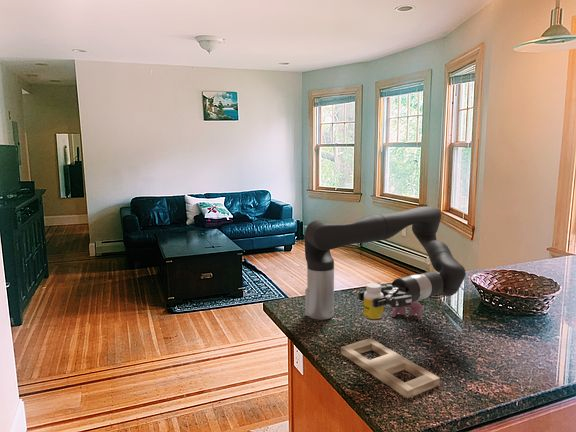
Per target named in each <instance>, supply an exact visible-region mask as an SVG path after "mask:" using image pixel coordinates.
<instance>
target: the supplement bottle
mask: <svg viewBox="0 0 576 432" xmlns="http://www.w3.org/2000/svg"><path fill="white" fill-rule="evenodd" d="M365 286H366V287H365V291H366V290H367V291H366V292H365V293H364V300H363V319H364V320H365V321H366V322H369V323H380V322H382V321H383V320H384V308H385V307H384V306H385V305H383V306H380V307H376V308H375V307H373V299H376V298H380V297H384V295H383V293H382V292H381V286H382V284H381V283H380V284H378V282H369V283H366V285H365Z"/></svg>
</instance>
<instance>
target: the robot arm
mask: <svg viewBox="0 0 576 432" xmlns="http://www.w3.org/2000/svg"><path fill="white" fill-rule="evenodd" d="M441 212H442V211H440V209H438V208H436V207H434V206H429V205H428V206H427V205H425V206H418V207H413V208H410V209H406V210H401V211H397V212H396V211H395V212H390V213H380V214H374V215H367V216H363V217H361V218H359V219H357V220H355V221H353V222H348V223H340V224H339V223H338V224H336V223H335V224H331V223H328V222H325V221H323V220H320V219H319V220H313V221H311V222H309V224H308V225H307V226H306V228H305V230H304V231H305V232H304V255H305V261H306V266H307V267H306V271H307V272H306V273H307V274H306V277H307V278H306V280H307V281H306V283H307V284H306V285H307V286H306V289H305V290H304V291H305V292H304V293H305V295H304V296H305V297H304V300H305V302H304V303H305V308H304V309H305V310H304V311H305V313H304V316H305V317H309V318H311V319H314V320H320V321H321V320H323V321H324V320H329V319H332V318H333V317H334V315H335V314H334V313H335V312H334V311H335V307H334V306H335V305H334V304H335V261H334V258H333V256H332V253H331V250H333V249H335V250H336V249H337V248H341V247H344V246H348V245H354V244H355V245H356V244H363V243H365V244H366V243H371V242H379V241H385V240H389V239H390V238H393V237H394V236H396V235H397V234H399V233H400V232H401V231H403V230H404V229H406V228H407V227H410V226H411V231H412V233H413V235H414V236H415V238H416V239H417V240H418V242H419V243H420V245H421V246H422V247H423V249H424V250H425V251H426V254H427V256H428V258H429V261H430V263H431V266H432V268H433V269H434V270H435V271H436V272H435V271H427V272H423V273H416V274H410V275H407V276H402V277H397V278H395V279H394V280H393V281H392V283H391V284H385V285H381V282H377V283H378V284H380V285H381V291H380V292H382V293H383V295H384V297H380V298H376V299H373V307H375V308H376V307H380V306H383V305H384V306H386V307H389V306H391V308H392V309H393V308H395V307H401V306H407V305H411V302H415V301H418V302H419V301H421V300H424V299H426V298H429V297H430V296H434V295H437V296H441V297H452V296H454V295H456V294H457V292H458V291H459V290H460V287H461V286H462V284H463V282H464V281H465V278H466V274H467V273H466V268H465V267H464V266H463V265H462V264H461V263H460V262H458V261H457V259H455V258H454V257H453V254H452V252H451V249H450V248H449V247H448V246H447V244H446V243H445V242H443V241H440V240H437V233H438V231H439V230H438V229H439V226H440V223H441V219H442V213H441ZM366 291H367V290H366V289H365V290H363V291H360V292H359V291H358V296H357V297H358V300H359V301H364V293H365V292H366ZM430 298H431V297H430ZM397 302H398V304H396V303H397Z"/></svg>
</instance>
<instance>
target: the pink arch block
mask: <svg viewBox="0 0 576 432" xmlns="http://www.w3.org/2000/svg"><path fill="white" fill-rule="evenodd" d="M396 304H398V302H397V303H396ZM422 306H423V305H422V304H421V303H420V302H419V301H415V302H411V305H407V306H401V307H395V308H393V307H392V311H391V312H392V318H396V317H397V314H398V313H399V314H400V315H401V316H404V315H406V312H407V311H406V309H405V308H409V310H408V312H407V313H408V315H409V316H411V317H414V316H415V315H416V316H417V321H420V320H421V319H422V314H423V307H422Z"/></svg>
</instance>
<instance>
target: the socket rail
mask: <svg viewBox="0 0 576 432" xmlns="http://www.w3.org/2000/svg"><path fill="white" fill-rule="evenodd" d="M369 351H373V352H374V353H376V354H378V355H379V356H378V357H375V358H372V359H369V358H367V357H366V356H363V355H362V354H363V353H367V352H369ZM340 355H342V356H343V357H346V358H347V359H348V360H350V361H351V362H353V363H354V364H356V365H357V366H358V367H360V368H362V369H363V370H364V371H366V372H367V373H369V374H371V375H372V376H373V377H374V378H376V379H377V380H379V381H381V382H382V383H384V384H385V385H387V386H388V387H389V386H390V387H389V388H391V389H393V390H394V391H395V392H397V393H399V394H400V395H401V396H403V398H406V399H409V398H412V397H415V396H417V395H419V394H422V393H424V392H427V391H430V390H431V389H434V388H436V387H439V386H440V382H441V378H440V377H439V376H437V375H435V374H434V373H432V372H431V371H429V370H427V369H425V368H423V367H422V366H420V365H418V364H416V363H414V362H413V361H411V360H409V359H408V358H406V357H404V356H402V355H401V354H399V353H397V352H395V351H394V350H392V349H391V348H388V347H387V346H385V345H383V344H382V343H380V342H378V341H376V340H374V339H373V338H371V337H369V338H366V339H363V340H359V341H355V342H353V343H349V344H347V345H343V346H340ZM402 371H406V372H408V373H409V374H410V375H412V376H414V377H415V378H413V379H410V380H407V381H405V382H404V381H403V380H402V379H400V378H398V377H397V376H395V375H394V374H396V373H399V372H402Z"/></svg>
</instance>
